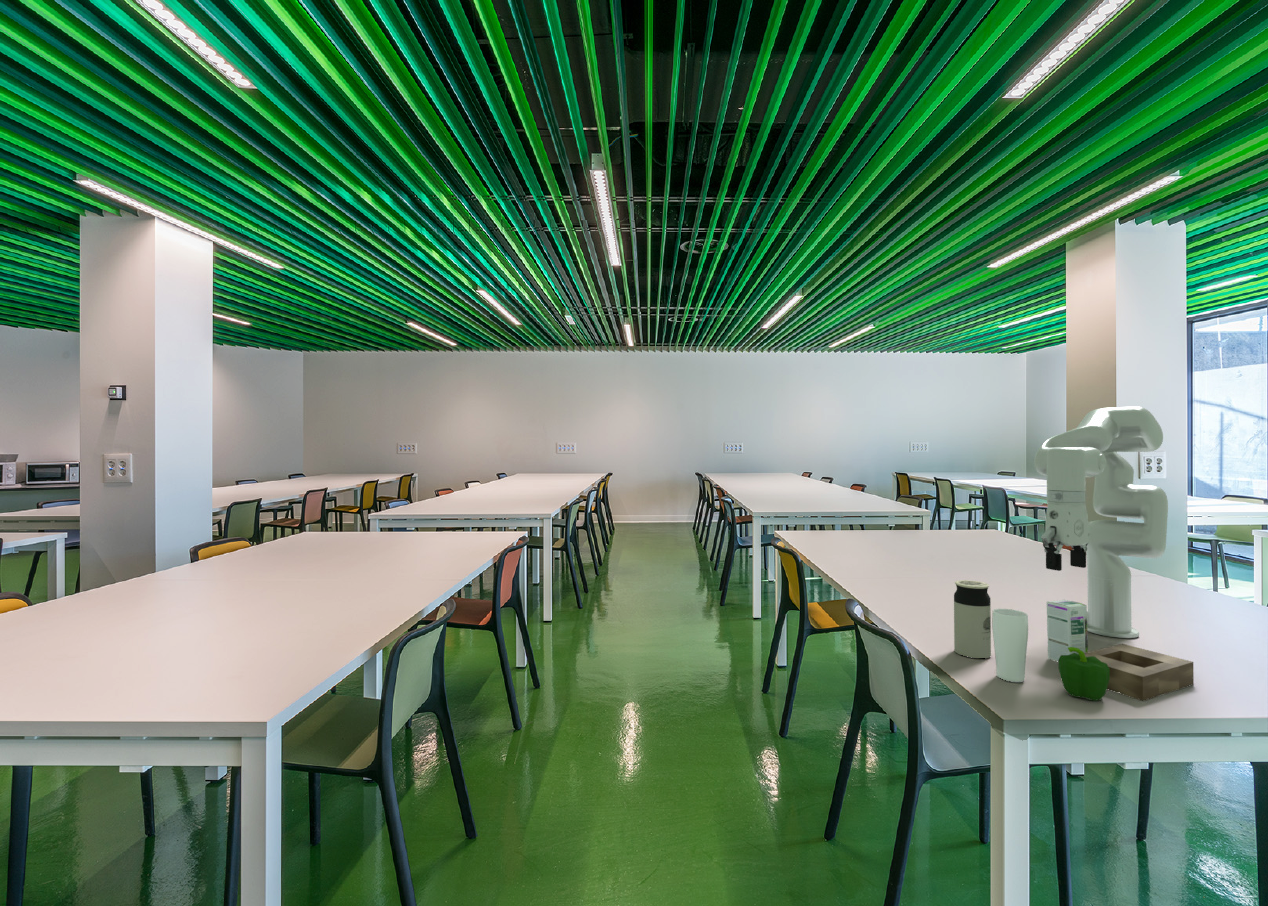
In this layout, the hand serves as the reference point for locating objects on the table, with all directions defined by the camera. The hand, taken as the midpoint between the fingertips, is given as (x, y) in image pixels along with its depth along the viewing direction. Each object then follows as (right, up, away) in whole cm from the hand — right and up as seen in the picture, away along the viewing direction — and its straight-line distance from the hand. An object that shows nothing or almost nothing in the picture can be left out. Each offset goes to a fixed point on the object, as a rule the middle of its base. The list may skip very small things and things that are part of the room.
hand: (1066, 568), depth 137 cm
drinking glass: (-20, -23, -10) cm, 32 cm away
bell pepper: (-11, -23, -19) cm, 32 cm away
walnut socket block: (+6, -23, -12) cm, 26 cm away
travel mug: (-19, -23, +6) cm, 31 cm away
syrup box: (0, -23, 0) cm, 23 cm away
